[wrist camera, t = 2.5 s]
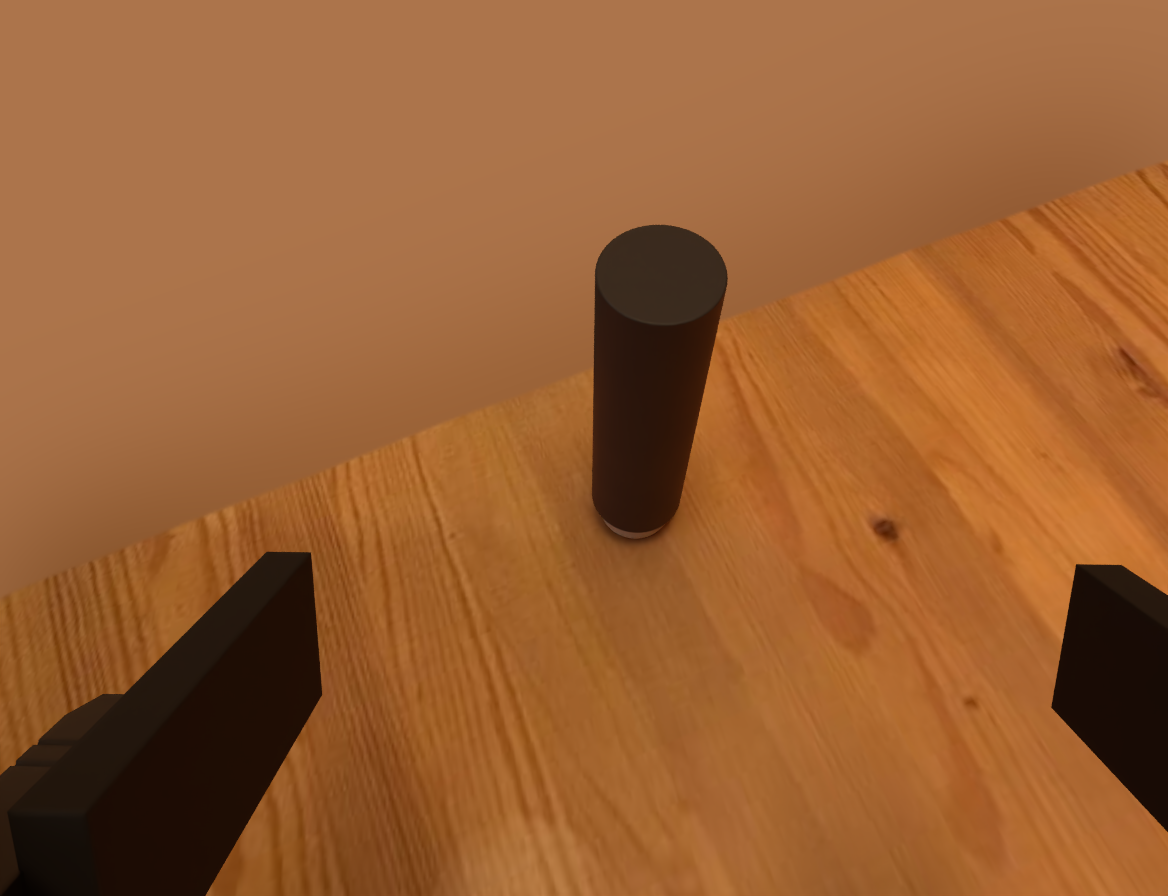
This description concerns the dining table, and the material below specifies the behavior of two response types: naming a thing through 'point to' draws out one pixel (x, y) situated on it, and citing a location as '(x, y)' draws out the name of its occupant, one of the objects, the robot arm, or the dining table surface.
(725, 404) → the dining table surface
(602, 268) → the dark brown cylinder
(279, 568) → the robot arm
